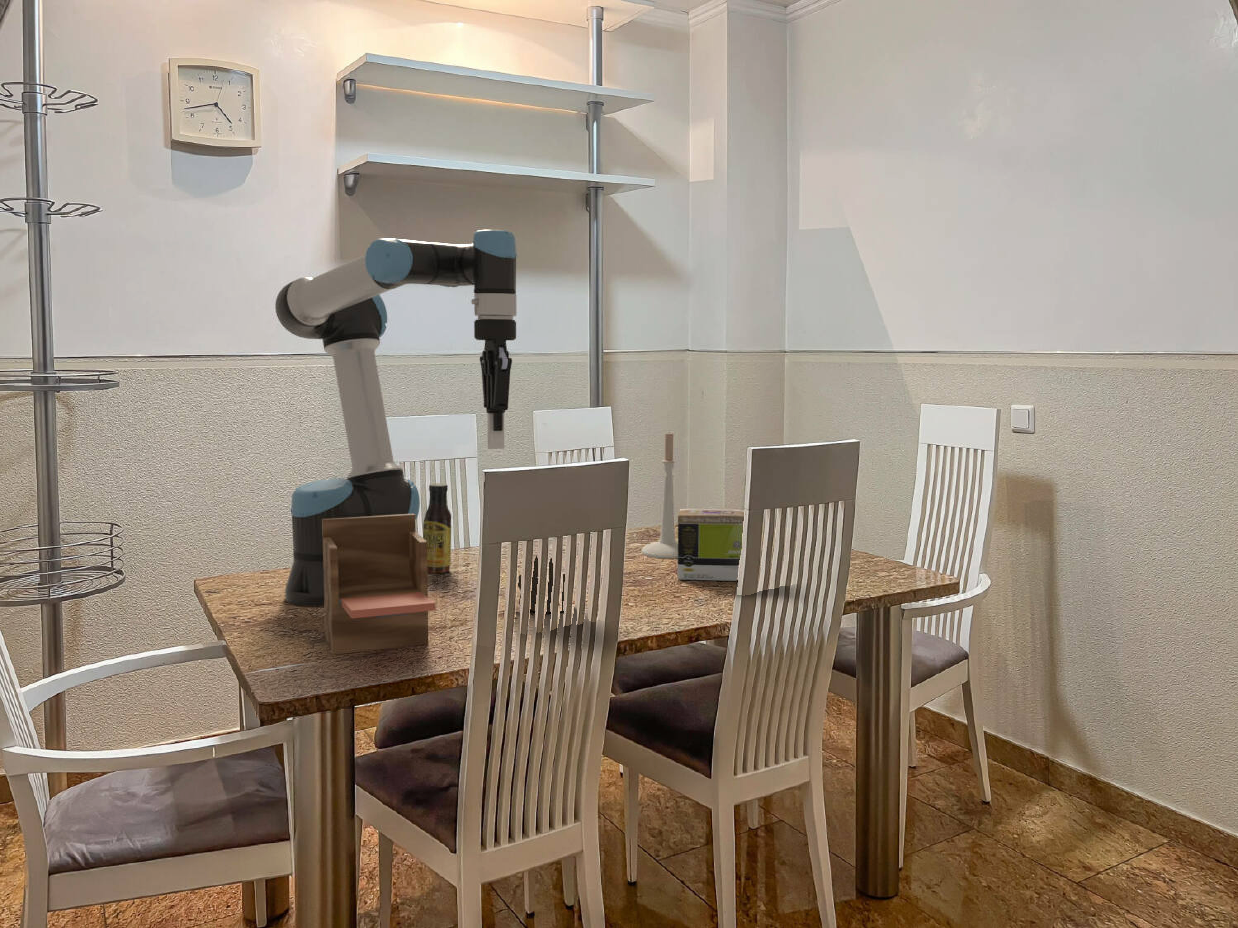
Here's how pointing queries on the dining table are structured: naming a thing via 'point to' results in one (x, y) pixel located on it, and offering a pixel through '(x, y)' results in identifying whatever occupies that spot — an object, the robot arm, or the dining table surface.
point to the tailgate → (387, 605)
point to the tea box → (709, 543)
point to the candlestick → (666, 511)
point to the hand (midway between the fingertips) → (496, 448)
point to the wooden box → (373, 580)
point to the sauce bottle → (438, 530)
